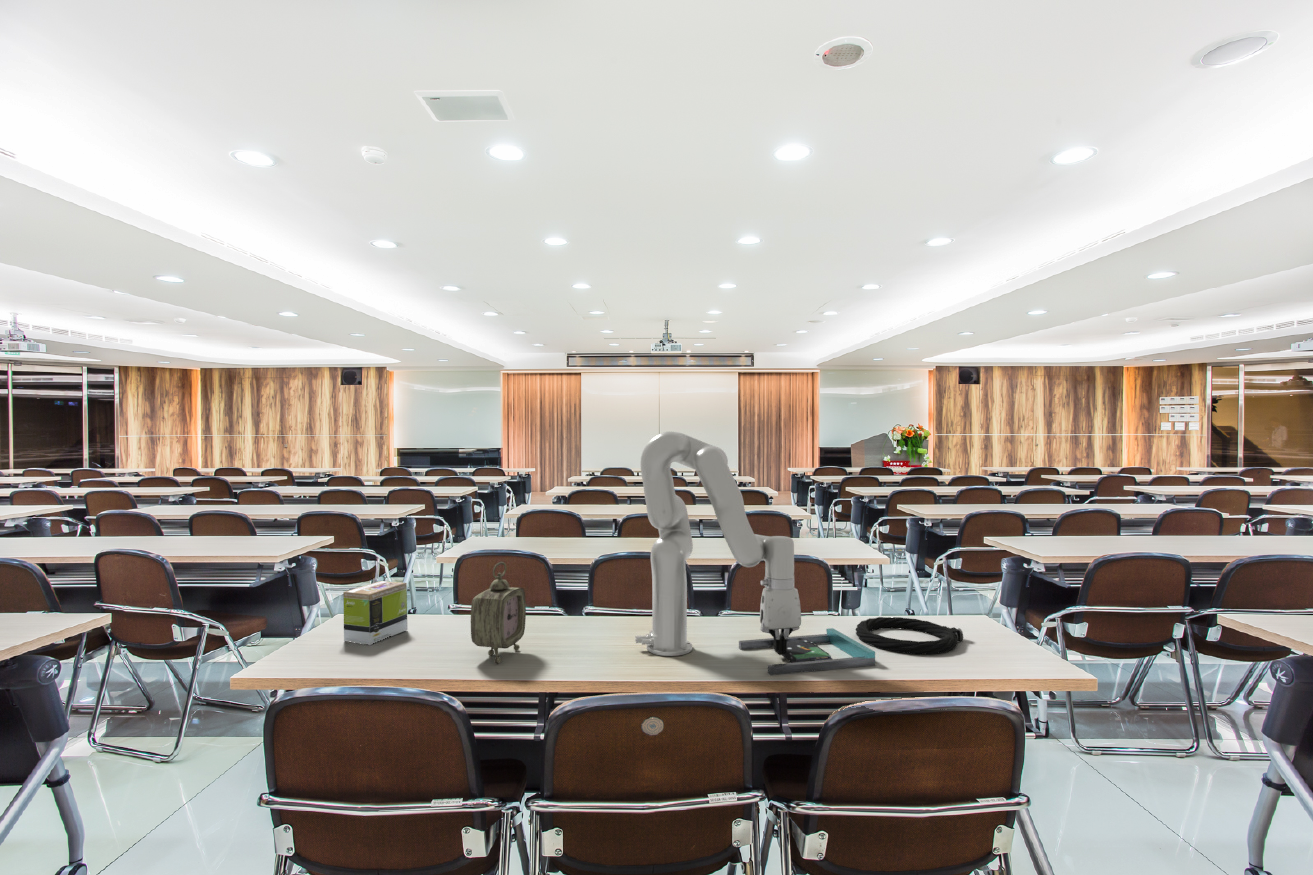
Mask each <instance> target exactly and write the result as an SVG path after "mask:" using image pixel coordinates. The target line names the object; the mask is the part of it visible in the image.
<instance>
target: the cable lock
mask: <svg viewBox="0 0 1313 875" xmlns="http://www.w3.org/2000/svg"><path fill="white" fill-rule="evenodd" d="M892 617H893V616H892ZM881 628H890V629H896V628H901V629H900V630H910V631H915V632H919V633H920V632H921V633H925V632H926V634H928V635H931V636H936V637H938V638H939V639H937V640H926V641H925V640H923V641H920V640H919V641H917V640H916V641H915V640H911V639H910V640H909V639H908V640H907V639H897V638H891V637H886V636H883V635H880V634H877V633H873V632H872V631H877V630H881ZM855 631H856V632H855V635H856V636H857V637H858V639H859V640H861V641H862V642H864V644H867V645H870V646H872V647H874V648H876V649H880V650H884V651H890V652H894V653H897V654H908V655H918V656H920V655H937V654H938V655H939V654H943V653H948V652H950V651H953V650H954V649H955V648H956V647H957V646H958V644H959V642H958V641H960V642H963V641H964V632H963V630H962V629H961V628H956V627H955V626H954V627H949V626H947V625H940V624H937V623H935V622H931V621H929V620H921V619H917V618H909V617H899V616H898V617H897V616H896V617H895V616H894V617H893V618H891V617H889V616H888V617H886V616H885V617H884V616H878V617H875V618H874V617H872V618H871V617H870V618H867V619H866V620H861V621H860V622H859V623H858V624H857V625H856V627H855Z"/></svg>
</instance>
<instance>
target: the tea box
mask: <svg viewBox="0 0 1313 875" xmlns="http://www.w3.org/2000/svg"><path fill="white" fill-rule="evenodd" d="M407 584H408V583H407V582H401V581H400V582H398V581H386V580H379V581H377V582H376V581H375V582H372V583H369V584H366V585H363V586H359V587H356V588H352V589H349V590H345V591H343V641H344V642H345V641H351V642H355V643H354V644H356V643H361V644H360V645H364V644H368V646H371V645H373V643H374V644H376V643H378V642H377V641H379V642H381V641H384V640H386V639H388V638H390V637H389V636H391V637H394V636H396V635H399V634H400V633H403V632H405V631H408V595H407V594H408V590H407V589H408V588H407V586H408V585H407ZM387 637H388V638H387ZM385 638H386V639H385ZM383 639H384V640H383ZM380 640H381V641H380ZM375 642H376V643H375Z"/></svg>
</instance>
